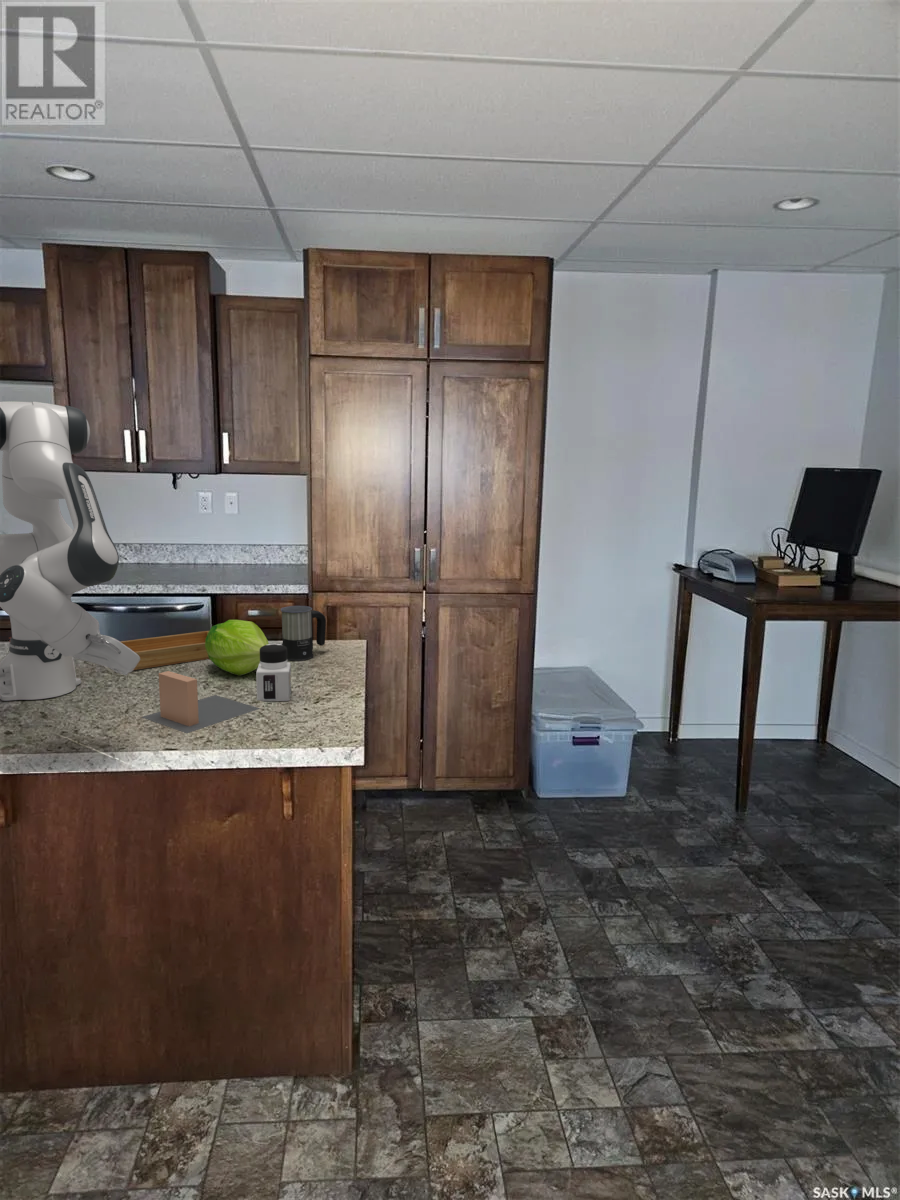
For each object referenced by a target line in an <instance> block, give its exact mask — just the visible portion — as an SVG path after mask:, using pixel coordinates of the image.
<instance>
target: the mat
mask: <svg viewBox="0 0 900 1200" xmlns="http://www.w3.org/2000/svg"><path fill="white" fill-rule="evenodd" d="M260 709H261V708H260V707H257V706H253V705H249V704H247V703H244V702H239V701H237V700H233V699H230V698H227V697H223V696H219V695H217V694H214V695H211V696H208V697H207V696H206V697H204V698H201V699H198V718H199V723H198V724H195V725H192V726H186V725H183V724H181V723H178V722H175V721H172V720H169V719H166V718H163V717H161V714H160V711H157V712H155V713H151V714H150V713H149V714H147V715H144V716H141V719H142V718H143V719H145V720H147V721H151V722H154V723H157V724H159V725H162V726H165V727H168V728H170V729H173V730H177V731H179V732H182V733H186V734H190V733H192V732H196V731H198V730H201V729H204V728H207V727H210V726H213V725H216V724H219V723H221V722H224V721H228V720H231V719H233V718H236V717H239V716H242V715H245V714H248V713H251V712H254V711H257V710H260Z"/></svg>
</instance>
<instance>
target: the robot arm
mask: <svg viewBox="0 0 900 1200" xmlns="http://www.w3.org/2000/svg"><path fill="white" fill-rule="evenodd" d="M90 436H91V428H90V423H89V421H88V419H87V416H86V414H85V413H84V411H82V410H81V408H77V407H74V406H70V405H68V404H67V405H66V404H65V406H64V405H58V404H52V403H47V402H40V401H13V400H12V401H11V400H10V401H5V400H4V401H0V452H1V451H2V458H1V459H2V461H1V463H2V464H1V473H2V474H1V477H2V479H1V481H2V483H1V484H2V504H3V507H4V509H5V511H7V513H9V515H11V516H13V517H14V518H17V519H19V520H21V521H24V522H26V523H29V524H32V531H31V532H27V533H24V532H23V533H5V534H4V533H3V534H0V608H1V609H2V610H3V611H4V612H5V613H6V615H8V616H9V620H10V627H11V628H10V629H11V636H10V637H8V639H10V640H9V641H8V646H9V647H8V653H7V654H6V655H5V656H4V658H2V660H0V700H1V701H3V702H4V701H6V702H7V701H18V700H22V701H23V700H24V701H25V700H27V701H28V700H31V701H33V700H43V699H49V698H56V697H60V696H64V695H66V694H68V693H71V692H73V691H74V690H76V687H77V686H78V685H80V684H81V683H82V679H81V678H80V677H77V674H76V668H75V663H74V658H75V659H77V660H82V661H85V662H89V663H93V664H97V665H99V666H104V667H106V668H109V669H111V670H112V671H113V672H115V673H117V674H121V675H124V676H127V675H128V674H130V673H132V672H133V671H135V670H134V668H135V667H136V666H137V664H138V663H139V661H140V657H139V655H138V654H136V653H135V652H134V651H132V650H131V649H130V648H128V647H127V646H125V645H124V644H123V643H121V642H120V641H119V640H118V639H117V638H114V637H112V636H109V635H106V634H105V635H104V634H101V631H100V623H99V620H98V619H96V618H95V616H93V615H92V614H90V613H89V612H88V611H86V609H84V608H83V607H82V606H80V605H79V604H77V603H76V602H73V600H72V596H73V594H75V593H77V592H79V591H83V590H85V589H87V588H89V587H94V586H98V585H100V584H103V583H107V582H109V581H111V580H112V579H113V578H114V577H115V575H116V573H117V571H118V567H119V565H120V564H119V562H120V557H119V553H118V550H117V547H116V546H115V543H114V542H113V540H112V538H111V536H110V534H109V531H108V529H107V526H106V523H105V519H104V517H103V513H102V511H101V507H100V505H99V501H98V499H97V498H98V497H97V495H96V492H95V490H94V487H93V483H92V481H91V479H90V477H89V476H88V474H87V472H86V471H85V469H84V468H82V467H81V466H80V465H78V464H77V463H74V462H73V459H72V455H77V454H80V453H82V452H84V450H86V448H87V445H88V443H89V441H90ZM59 500H65V503H66V507H67V508H68V512H69V515H70V519H71V523H72V526H73V528H72V527H71V526H70V525H69V524H68V523H67V522H66V520H65V519H64V517H63V515H62V512H61V508H60V501H59Z"/></svg>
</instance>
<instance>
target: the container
mask: <svg viewBox="0 0 900 1200" xmlns="http://www.w3.org/2000/svg"><path fill="white" fill-rule="evenodd" d="M291 665H292V664H291V662H289V661H288V660H287V648H286V646H284V645H282V643H281V644H280V643H268V645H264V646H262V647H261V648H260V663H259V665H258V668H256V673H255V674H256V677H255V678H256V679H255V680H256V700H257V701H261V702H266V703H267V702H289V701H290V699H291V695H292V693H291V692H292V677H291V676H292V675H291V671H292V668H291Z"/></svg>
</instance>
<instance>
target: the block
mask: <svg viewBox="0 0 900 1200" xmlns="http://www.w3.org/2000/svg"><path fill="white" fill-rule="evenodd" d="M158 693H159V712H160V714H161V717H163V718H166V719H169V720H172V721H175V722H178V723H181V724H183V725H186V726H192V725H195V724H198V723H199V718H198V700H199V698H198V697H199V696H198V695H199V693H198V679H197V678H194V677H192V676H191V677H190V676H186V675H183V674H180V673H176V672H173V671H169V670H167V671H163V672H159V673H158Z"/></svg>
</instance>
